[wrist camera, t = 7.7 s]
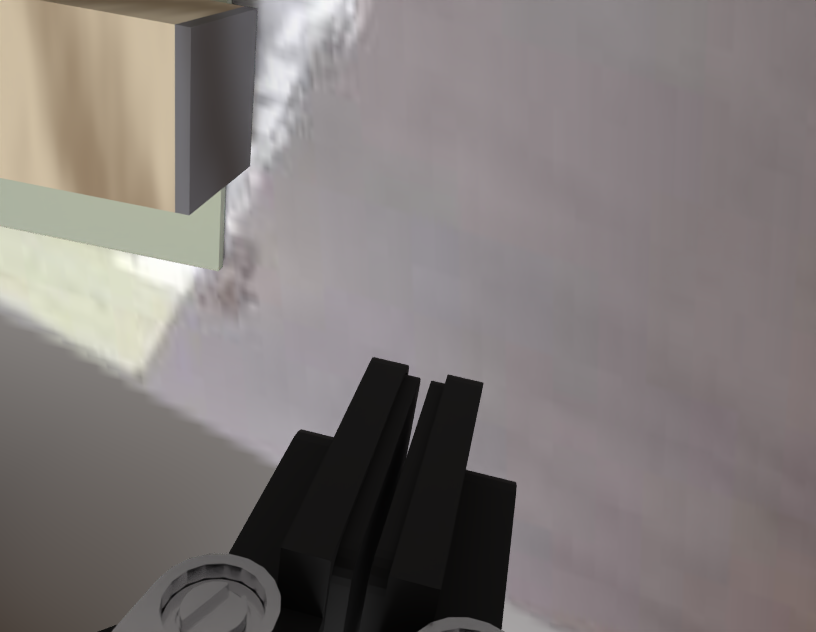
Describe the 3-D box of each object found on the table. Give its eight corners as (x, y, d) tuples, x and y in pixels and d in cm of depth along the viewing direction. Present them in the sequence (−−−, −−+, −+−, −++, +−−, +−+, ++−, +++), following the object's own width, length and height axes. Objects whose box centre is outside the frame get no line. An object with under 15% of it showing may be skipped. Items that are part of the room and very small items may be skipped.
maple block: (190, 27, 23) (-122, -29, 23) (189, 215, 25) (-89, 160, 26) (257, 8, 28) (1, -37, 29) (249, 165, 31) (17, 121, 31)
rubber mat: (237, -154, 26) (231, -155, 26) (222, 266, 34) (218, 271, 33) (-89, -207, 27) (-99, -210, 26) (-32, 214, 34) (-39, 218, 34)
